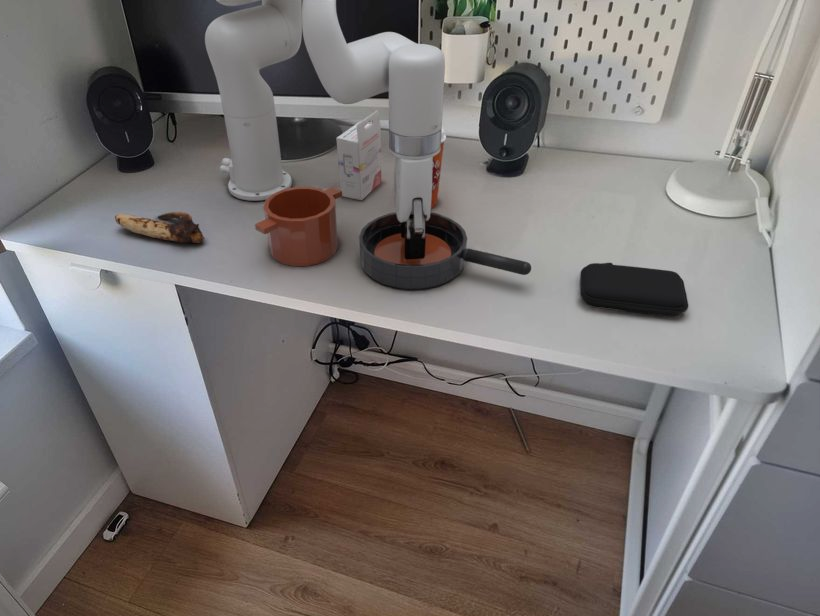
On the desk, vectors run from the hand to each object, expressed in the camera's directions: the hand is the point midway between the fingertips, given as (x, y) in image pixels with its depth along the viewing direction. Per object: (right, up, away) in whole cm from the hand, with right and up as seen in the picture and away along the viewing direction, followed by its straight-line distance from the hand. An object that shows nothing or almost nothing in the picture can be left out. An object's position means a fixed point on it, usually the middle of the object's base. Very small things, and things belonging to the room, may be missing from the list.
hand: (412, 246), depth 104 cm
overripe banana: (-43, +4, +12) cm, 45 cm away
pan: (0, -2, +2) cm, 3 cm away
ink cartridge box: (-8, +14, +22) cm, 27 cm away
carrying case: (+32, -9, -7) cm, 34 cm away
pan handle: (+12, -4, -5) cm, 14 cm away
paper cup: (+3, +11, +17) cm, 20 cm away
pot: (-18, +1, +6) cm, 19 cm away
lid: (0, -1, +1) cm, 2 cm away
